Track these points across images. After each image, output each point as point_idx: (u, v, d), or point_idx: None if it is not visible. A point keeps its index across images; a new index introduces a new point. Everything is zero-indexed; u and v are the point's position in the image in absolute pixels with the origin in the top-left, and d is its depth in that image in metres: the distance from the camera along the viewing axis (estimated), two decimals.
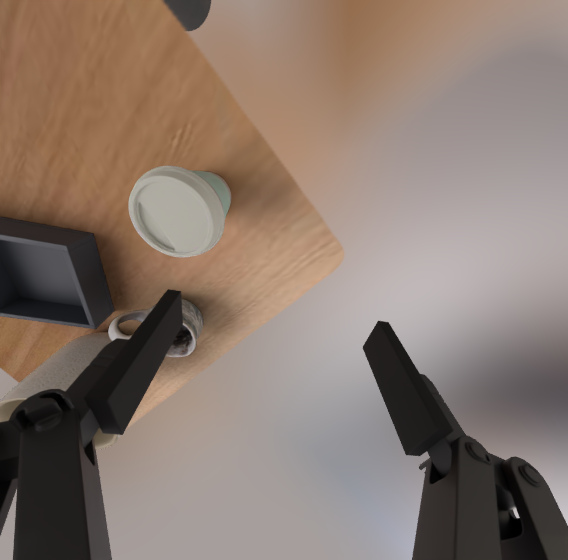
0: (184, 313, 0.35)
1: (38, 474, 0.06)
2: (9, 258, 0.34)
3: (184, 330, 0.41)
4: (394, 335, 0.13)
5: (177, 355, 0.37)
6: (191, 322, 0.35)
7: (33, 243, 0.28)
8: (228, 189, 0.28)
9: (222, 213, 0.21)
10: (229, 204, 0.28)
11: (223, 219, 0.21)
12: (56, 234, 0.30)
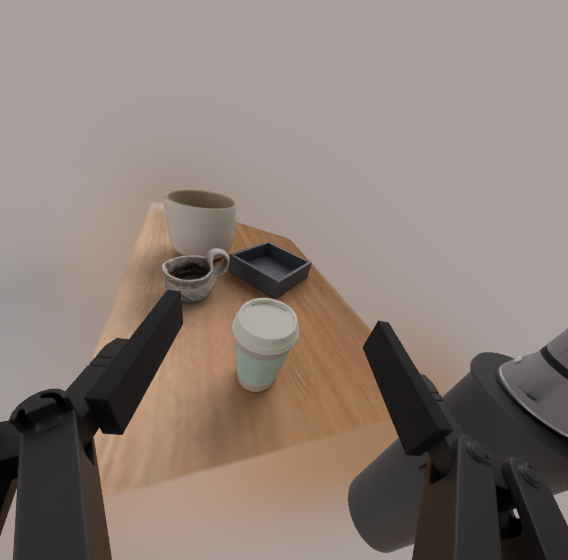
0: (193, 289, 0.40)
1: (38, 474, 0.06)
2: (284, 267, 0.62)
3: None
4: (394, 335, 0.13)
5: (170, 260, 0.42)
6: (182, 286, 0.39)
7: (287, 275, 0.50)
8: (252, 388, 0.30)
9: (251, 349, 0.24)
10: (242, 378, 0.29)
11: (246, 347, 0.24)
12: (285, 286, 0.51)
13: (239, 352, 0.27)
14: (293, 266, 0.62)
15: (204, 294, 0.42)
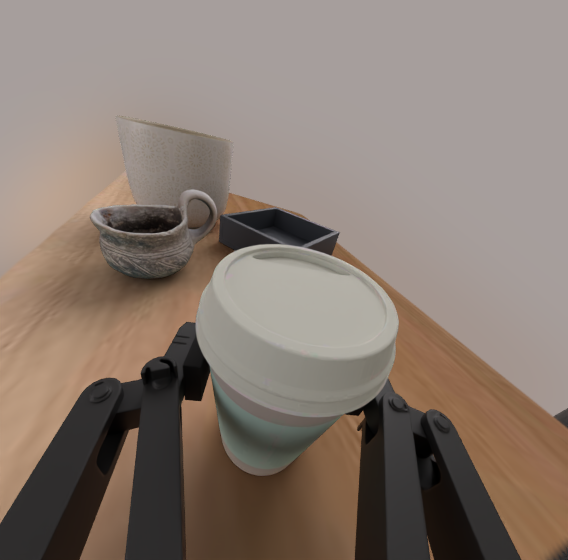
0: (148, 253, 0.22)
1: (151, 422, 0.07)
2: (299, 241, 0.44)
3: None
4: None
5: (113, 207, 0.25)
6: (127, 246, 0.21)
7: (308, 244, 0.32)
8: (256, 471, 0.12)
9: (254, 395, 0.06)
10: (231, 448, 0.11)
11: (237, 386, 0.06)
12: None
13: (218, 391, 0.09)
14: (311, 240, 0.44)
15: (171, 265, 0.24)
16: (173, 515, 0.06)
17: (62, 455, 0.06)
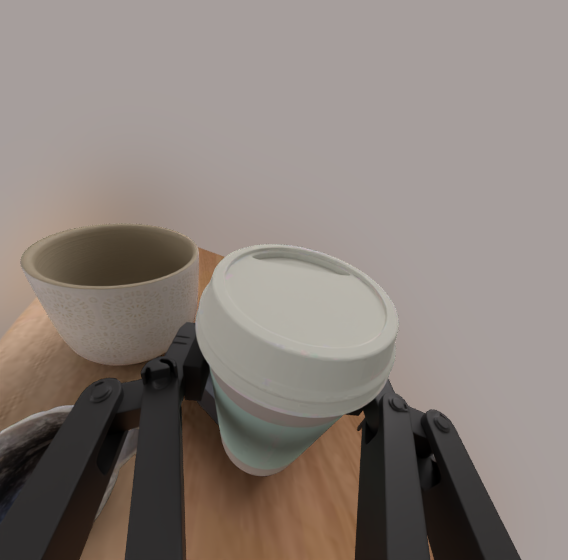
0: None
1: (151, 422, 0.07)
2: None
3: (26, 475, 0.18)
4: None
5: None
6: None
7: None
8: (256, 471, 0.12)
9: (254, 395, 0.06)
10: (231, 449, 0.11)
11: (237, 386, 0.06)
12: None
13: (218, 391, 0.09)
14: None
15: None
16: (173, 515, 0.06)
17: (62, 455, 0.06)
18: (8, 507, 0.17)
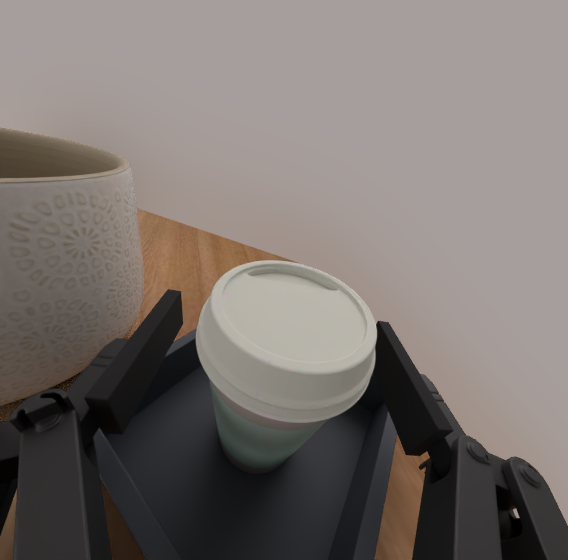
0: None
1: (38, 474, 0.06)
2: None
3: None
4: (394, 335, 0.13)
5: None
6: None
7: None
8: (251, 469, 0.13)
9: (247, 403, 0.07)
10: (228, 449, 0.12)
11: (232, 395, 0.07)
12: None
13: (216, 398, 0.10)
14: None
15: None
16: None
17: None
18: None
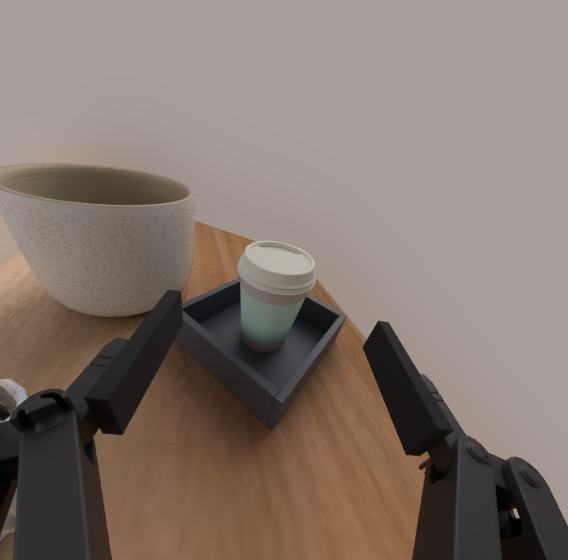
0: None
1: (38, 474, 0.06)
2: None
3: None
4: (394, 335, 0.13)
5: None
6: None
7: (302, 368, 0.21)
8: (259, 346, 0.25)
9: (260, 287, 0.20)
10: (248, 334, 0.25)
11: (255, 285, 0.20)
12: (295, 392, 0.21)
13: (245, 298, 0.22)
14: (308, 318, 0.32)
15: None
16: None
17: None
18: None
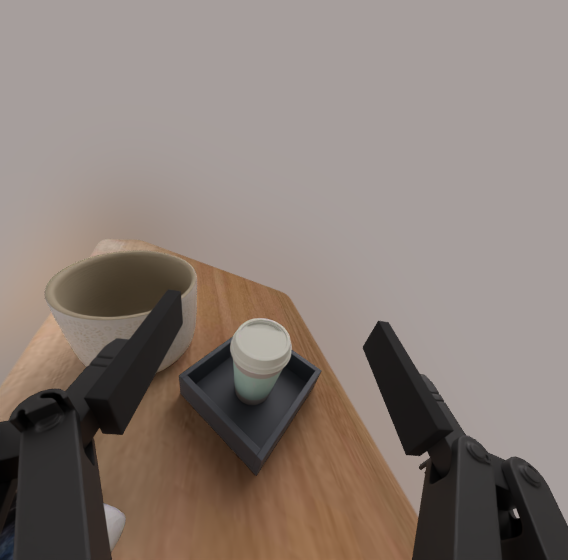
0: None
1: (38, 474, 0.06)
2: None
3: None
4: (394, 335, 0.13)
5: None
6: None
7: (279, 427, 0.27)
8: (249, 401, 0.32)
9: (247, 369, 0.26)
10: (240, 392, 0.32)
11: (242, 367, 0.27)
12: (274, 444, 0.28)
13: (236, 370, 0.29)
14: (291, 368, 0.39)
15: None
16: None
17: None
18: (14, 529, 0.19)
